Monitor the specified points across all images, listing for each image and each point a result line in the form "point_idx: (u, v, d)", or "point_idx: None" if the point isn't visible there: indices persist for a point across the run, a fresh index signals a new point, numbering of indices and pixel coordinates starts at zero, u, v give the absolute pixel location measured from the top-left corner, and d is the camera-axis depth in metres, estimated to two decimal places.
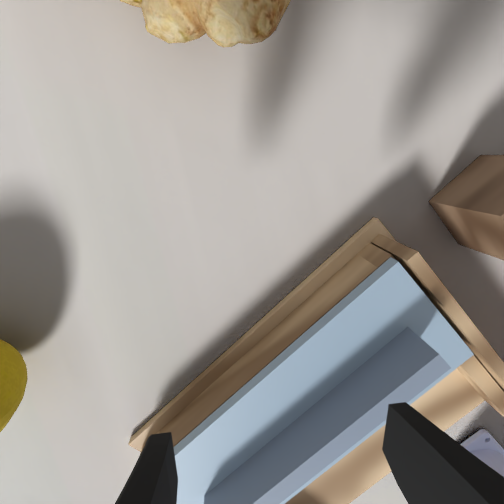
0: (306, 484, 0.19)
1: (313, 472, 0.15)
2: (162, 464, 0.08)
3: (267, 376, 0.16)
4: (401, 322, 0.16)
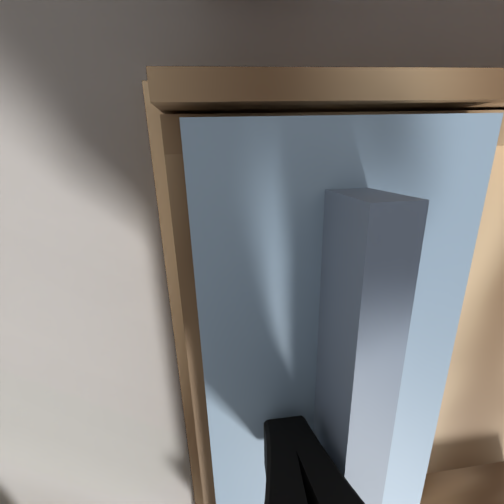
0: (423, 474, 0.12)
1: None
2: (294, 446, 0.08)
3: (209, 421, 0.10)
4: (306, 194, 0.08)
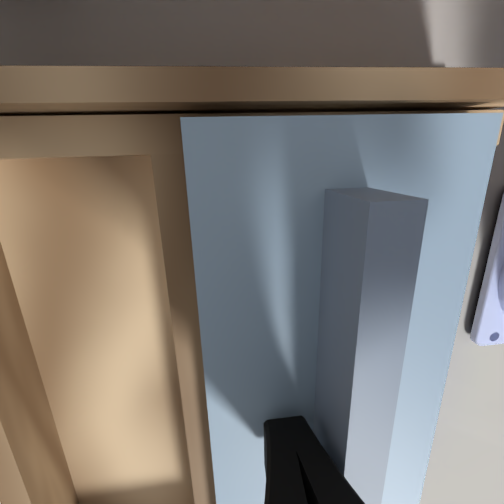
0: (422, 473, 0.12)
1: None
2: (294, 446, 0.08)
3: (210, 420, 0.10)
4: (306, 193, 0.08)
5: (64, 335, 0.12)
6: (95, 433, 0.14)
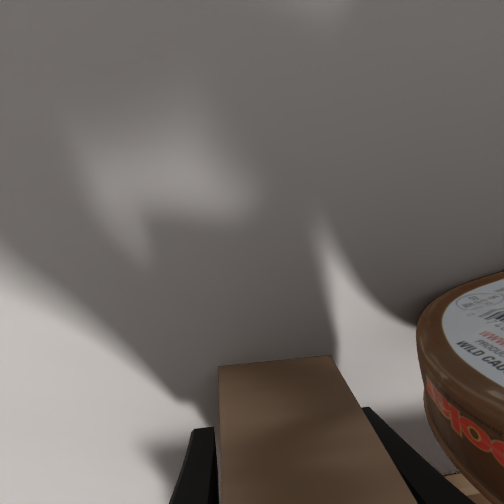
0: None
1: None
2: (212, 457, 0.08)
3: None
4: None
5: None
6: None
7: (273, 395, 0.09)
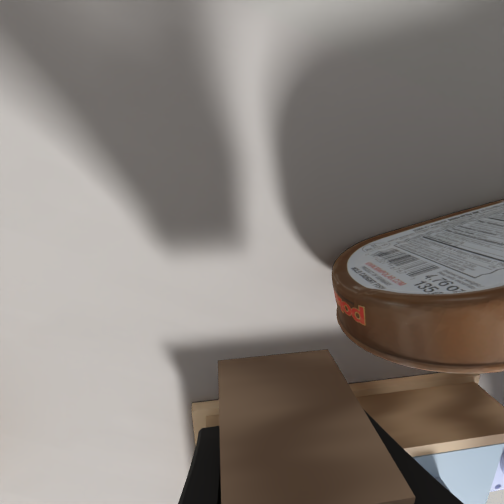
0: None
1: None
2: None
3: None
4: None
5: None
6: None
7: (272, 388, 0.09)
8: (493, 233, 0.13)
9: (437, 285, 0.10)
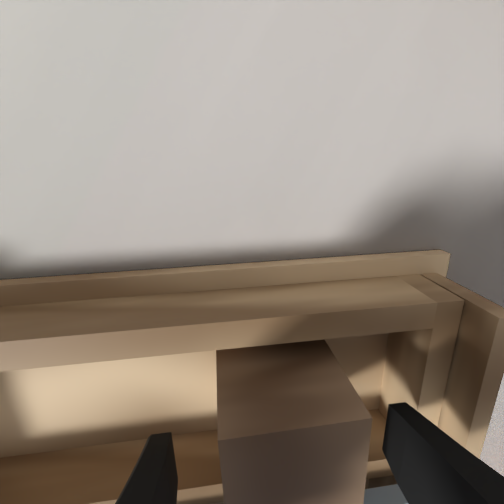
0: None
1: None
2: (162, 464, 0.08)
3: None
4: None
5: None
6: None
7: (261, 348, 0.11)
8: None
9: None
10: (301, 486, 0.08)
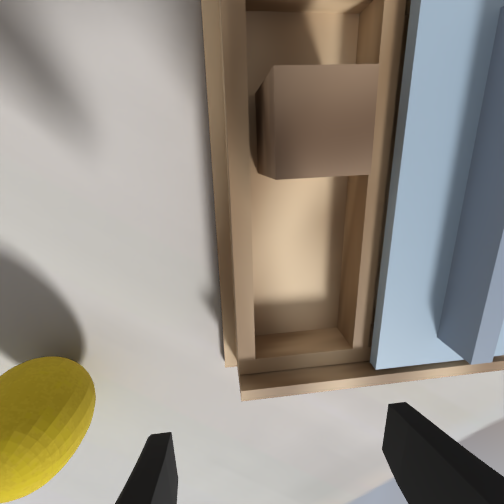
0: None
1: None
2: (162, 464, 0.08)
3: (398, 189, 0.14)
4: (489, 10, 0.12)
5: None
6: (272, 248, 0.18)
7: (261, 140, 0.15)
8: None
9: None
10: (328, 119, 0.11)
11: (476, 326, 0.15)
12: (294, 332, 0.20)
